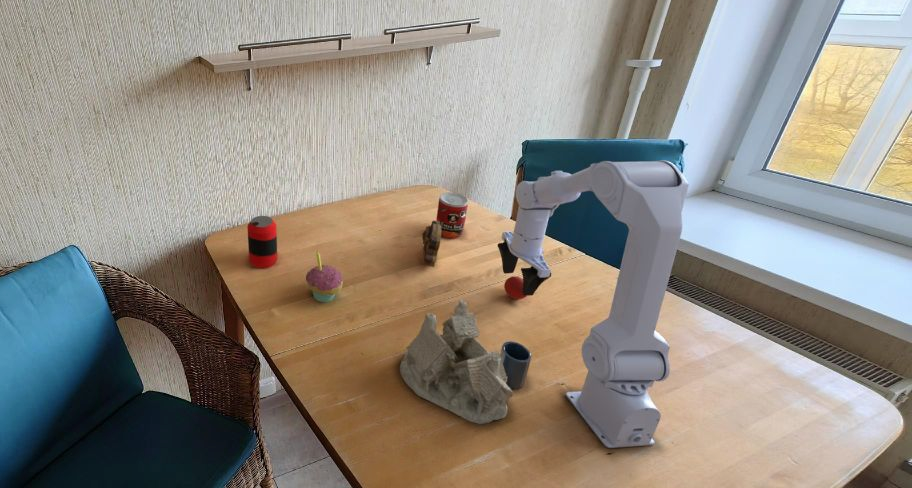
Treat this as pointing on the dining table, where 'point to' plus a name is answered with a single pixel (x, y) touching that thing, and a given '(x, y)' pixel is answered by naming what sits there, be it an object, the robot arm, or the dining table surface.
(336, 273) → the cupcake
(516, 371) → the cup
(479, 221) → the dining table surface
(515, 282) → the ball
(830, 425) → the dining table surface
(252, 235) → the soda can
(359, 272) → the dining table surface
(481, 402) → the ceramic cottage
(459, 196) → the canned food
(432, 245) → the wooden carving
